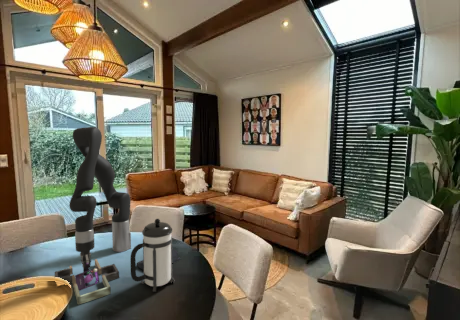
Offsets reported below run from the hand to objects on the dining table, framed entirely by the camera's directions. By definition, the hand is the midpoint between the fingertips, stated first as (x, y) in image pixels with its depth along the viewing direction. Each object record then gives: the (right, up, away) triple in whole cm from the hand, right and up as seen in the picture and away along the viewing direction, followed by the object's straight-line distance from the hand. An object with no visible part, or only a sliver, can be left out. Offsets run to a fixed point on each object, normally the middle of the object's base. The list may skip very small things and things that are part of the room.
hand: (86, 274), depth 120 cm
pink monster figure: (+3, -3, -5) cm, 6 cm away
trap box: (+3, -2, -3) cm, 5 cm away
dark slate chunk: (+29, -1, +16) cm, 33 cm away
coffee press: (+33, -3, -4) cm, 34 cm away
